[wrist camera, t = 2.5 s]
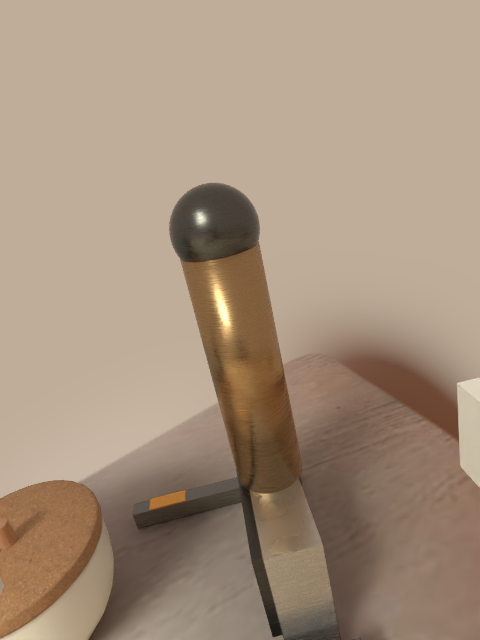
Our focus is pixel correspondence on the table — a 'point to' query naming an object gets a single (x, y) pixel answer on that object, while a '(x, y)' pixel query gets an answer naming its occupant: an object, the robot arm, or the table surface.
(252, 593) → the table surface
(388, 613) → the table surface
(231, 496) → the bench
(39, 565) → the lidded jar
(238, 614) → the table surface
